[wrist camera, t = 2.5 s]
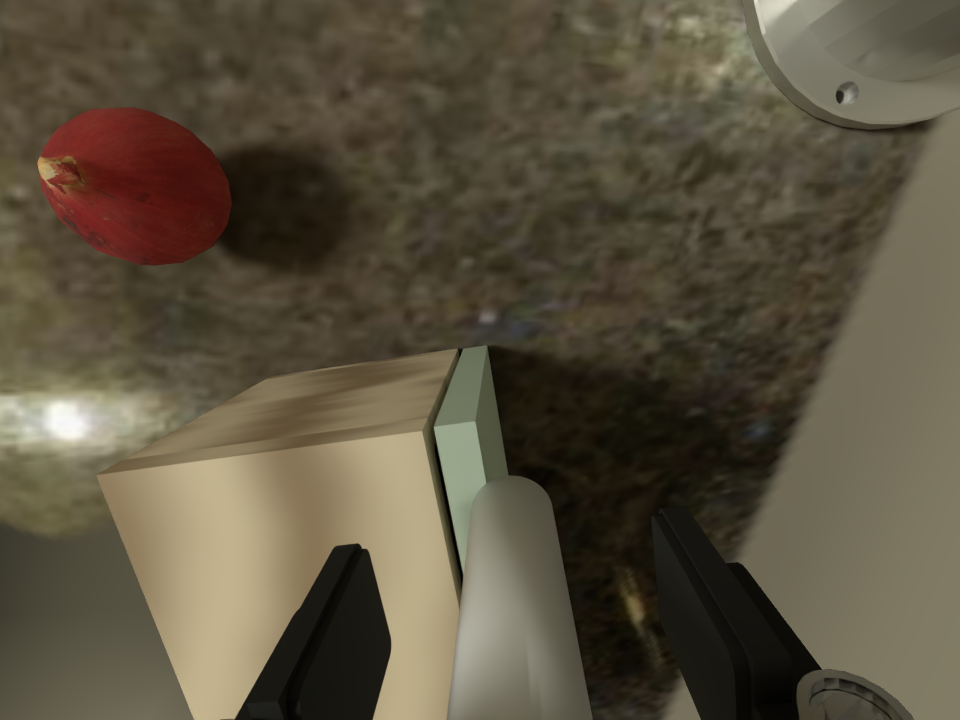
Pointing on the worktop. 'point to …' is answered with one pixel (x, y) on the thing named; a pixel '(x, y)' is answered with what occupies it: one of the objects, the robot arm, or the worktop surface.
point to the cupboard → (298, 526)
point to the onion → (135, 185)
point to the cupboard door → (504, 570)
